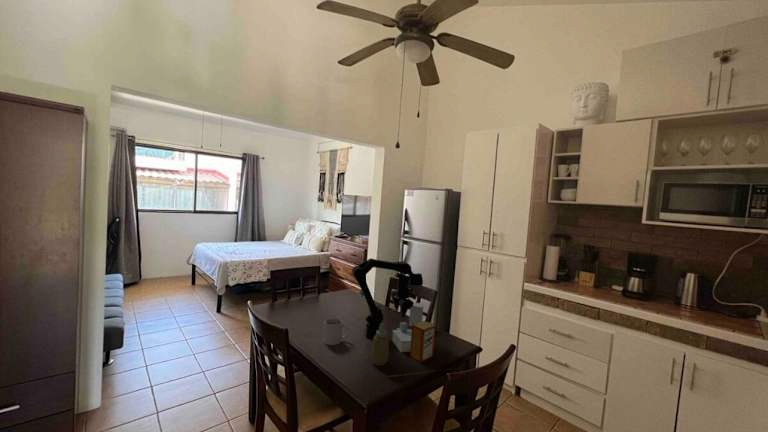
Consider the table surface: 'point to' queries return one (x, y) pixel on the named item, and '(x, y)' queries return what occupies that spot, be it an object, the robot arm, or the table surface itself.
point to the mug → (333, 331)
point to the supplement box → (416, 313)
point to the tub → (401, 344)
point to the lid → (403, 333)
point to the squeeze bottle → (380, 347)
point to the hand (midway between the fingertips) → (399, 314)
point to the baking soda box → (422, 341)
